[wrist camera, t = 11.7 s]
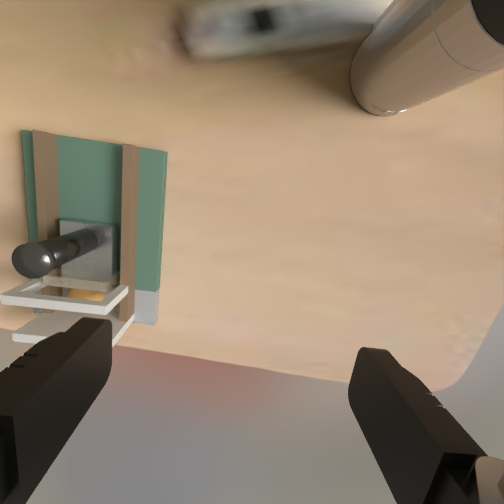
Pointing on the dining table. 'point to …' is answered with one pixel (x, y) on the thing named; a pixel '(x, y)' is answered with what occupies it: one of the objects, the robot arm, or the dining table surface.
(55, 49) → the dining table surface
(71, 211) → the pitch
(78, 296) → the ball
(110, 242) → the slider
